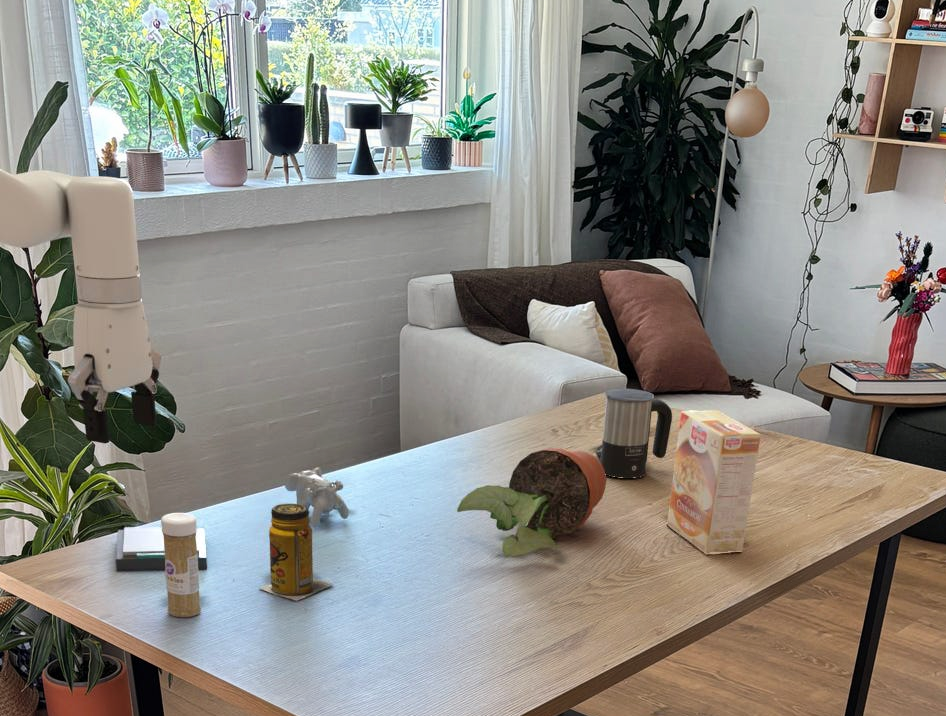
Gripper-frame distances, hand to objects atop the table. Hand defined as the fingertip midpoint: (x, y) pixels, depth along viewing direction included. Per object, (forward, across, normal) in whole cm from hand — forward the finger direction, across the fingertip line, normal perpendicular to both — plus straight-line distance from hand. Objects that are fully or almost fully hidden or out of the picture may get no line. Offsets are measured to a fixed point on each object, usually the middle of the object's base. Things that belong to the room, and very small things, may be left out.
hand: (122, 432), depth 166 cm
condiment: (+25, -18, +14) cm, 34 cm away
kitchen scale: (+24, -20, -10) cm, 33 cm away
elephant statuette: (+25, -47, 0) cm, 53 cm away
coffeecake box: (+25, -72, +61) cm, 97 cm away
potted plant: (+25, -54, +38) cm, 71 cm away
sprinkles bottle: (+24, -3, +6) cm, 25 cm away
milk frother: (+25, -105, +35) cm, 114 cm away
